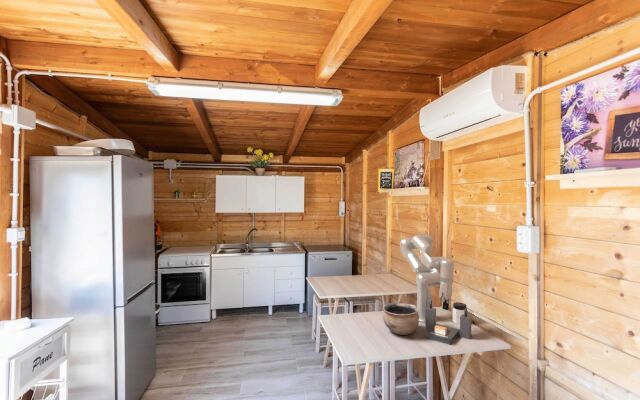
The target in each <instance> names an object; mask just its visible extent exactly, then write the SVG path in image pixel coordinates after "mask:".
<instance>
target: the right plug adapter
mask: <svg viewBox="0 0 640 400" xmlns="http://www.w3.org/2000/svg"><path fill="white" fill-rule="evenodd" d="M459 329H460V335H459V338H463V339H467V340H470V339H471V337H472V316H470V315H468V308H467V306H466V307H465V308H464V315H461V316H460V324H459Z"/></svg>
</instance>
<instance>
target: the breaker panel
mask: <svg viewBox="0 0 640 400" xmlns="http://www.w3.org/2000/svg"><path fill="white" fill-rule="evenodd" d="M436 325H437V326H441V327H445V328H447V334H446V335H442V334H438V333H435V326H436ZM436 325H435V326H433V327H432V328H431V329H429V330H427V331H426V332H425V338H426V339H429V340H432V341H436V342H439V343H442V344H446V345H452V344H453V343H454V341H456V340H457V339H458V338H459V337H460V328H455V327H451V326H447V325H443V324H439V323H436Z"/></svg>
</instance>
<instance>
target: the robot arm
mask: <svg viewBox="0 0 640 400" xmlns="http://www.w3.org/2000/svg"><path fill="white" fill-rule="evenodd" d="M433 243H434V239H433V237H432V236H431V235H430V234H415V235H413V236H412V237H406V238H403V239H401V240H400V242H399V250H400V253H401V254H402V255H403V257H404V258H405V260H406V261H407V264H408V265H409V267H410V269H411V270H412V271H413V273H414V274H415V275H416V276H415V282H416V292H417V294H416V297H417V298H416V301H417V302H416V303H417V305H416V307H417V310H418V309H419V312H418V315H419V323H420V322H421V323H425V309H426V308H428V307H430V300H432V301H433V293H432V291H431V289H430V287H439V291H438V299H441V302H442V310H445V311H449V308H450V298H451V297H452V295H453V284H454V270H455V269H454V267H455V266H454V265H455V264H454V261H453V260H452V259H448V258H447V257H446V256H429V255H431V254H432V252H433V250H434V248H433V247H434V246H433ZM414 250H418V251H419V253H420V257H419V255H418V254H417V252H416V251H414ZM439 269H440V272H439Z"/></svg>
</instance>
